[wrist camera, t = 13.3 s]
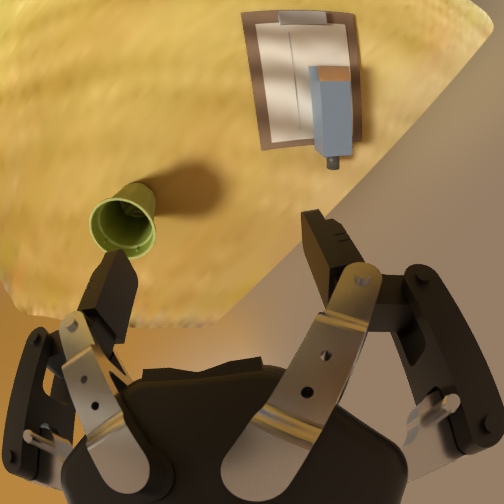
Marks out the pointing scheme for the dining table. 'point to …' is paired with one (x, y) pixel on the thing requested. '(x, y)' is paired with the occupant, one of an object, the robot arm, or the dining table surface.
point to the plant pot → (125, 221)
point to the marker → (331, 112)
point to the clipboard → (297, 69)
